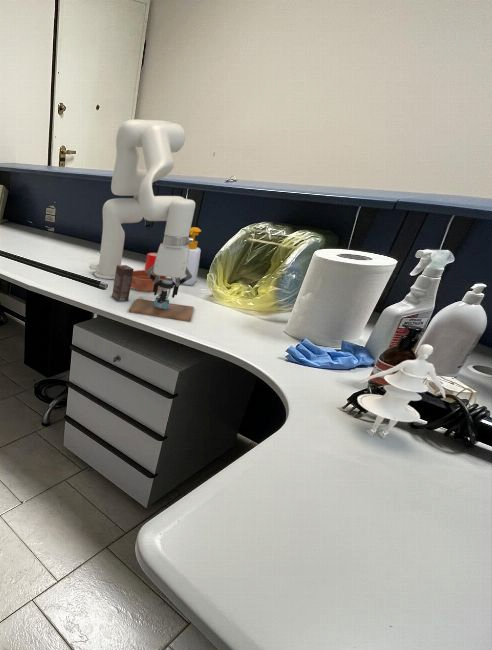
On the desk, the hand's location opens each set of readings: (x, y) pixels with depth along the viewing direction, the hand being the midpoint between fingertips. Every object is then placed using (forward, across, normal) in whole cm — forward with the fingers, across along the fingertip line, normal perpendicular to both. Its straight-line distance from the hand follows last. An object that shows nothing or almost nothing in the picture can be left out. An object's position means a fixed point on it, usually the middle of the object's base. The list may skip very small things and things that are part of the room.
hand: (164, 294), depth 140 cm
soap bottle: (+6, -3, -39) cm, 40 cm away
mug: (+6, +9, -52) cm, 53 cm away
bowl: (+6, +10, -26) cm, 28 cm away
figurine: (+6, -50, +55) cm, 74 cm away
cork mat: (+6, 0, 0) cm, 6 cm away
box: (+6, +16, -6) cm, 18 cm away
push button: (+5, 0, 0) cm, 5 cm away
